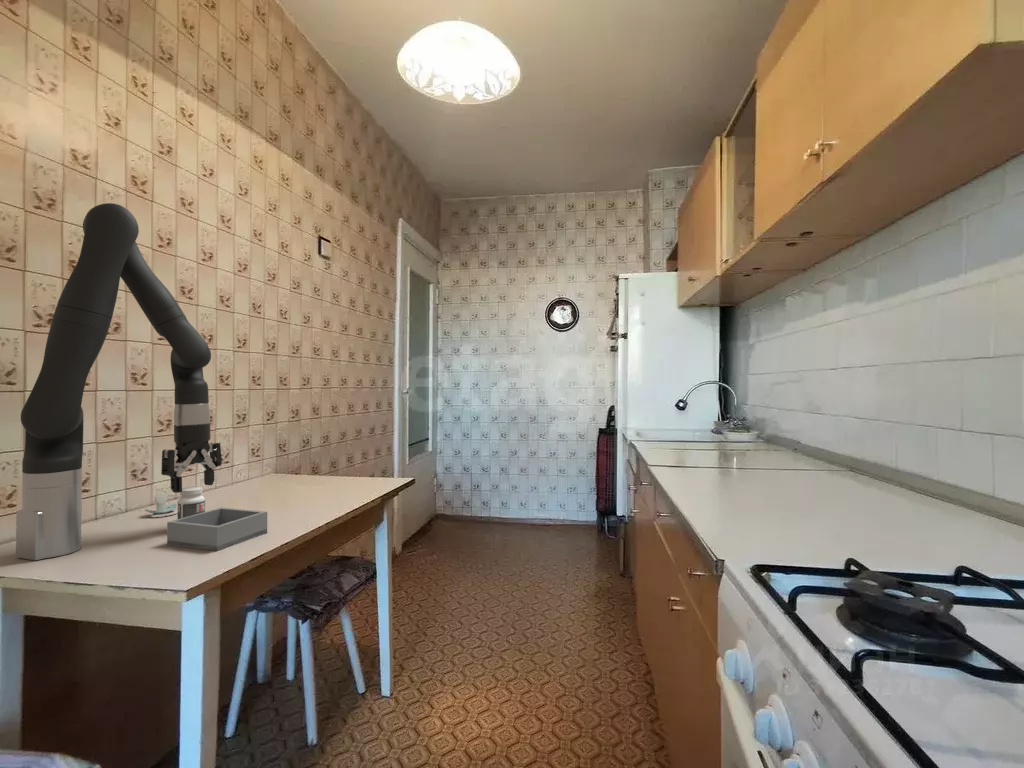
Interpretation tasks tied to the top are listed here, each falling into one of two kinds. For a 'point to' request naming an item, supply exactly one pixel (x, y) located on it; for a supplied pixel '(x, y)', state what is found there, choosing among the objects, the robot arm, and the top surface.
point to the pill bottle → (191, 502)
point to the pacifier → (162, 506)
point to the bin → (216, 528)
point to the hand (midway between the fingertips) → (193, 488)
